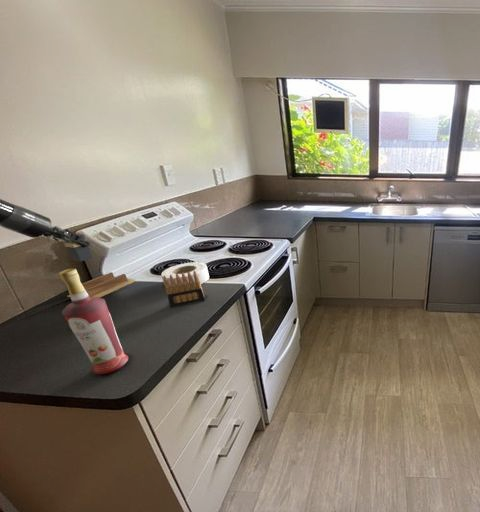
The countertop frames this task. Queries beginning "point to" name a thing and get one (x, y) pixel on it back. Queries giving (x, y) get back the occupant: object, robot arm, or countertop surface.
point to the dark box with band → (78, 250)
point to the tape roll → (185, 268)
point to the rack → (105, 284)
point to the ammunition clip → (184, 290)
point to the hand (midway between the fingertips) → (83, 244)
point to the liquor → (92, 326)
